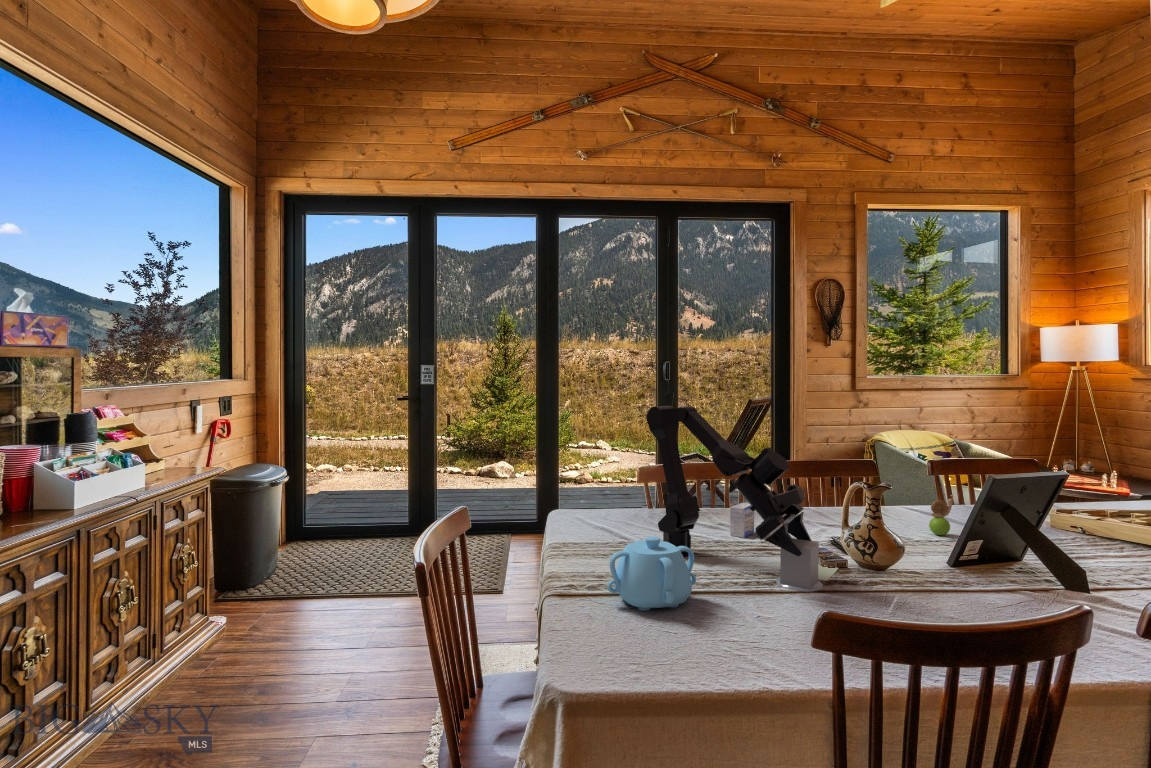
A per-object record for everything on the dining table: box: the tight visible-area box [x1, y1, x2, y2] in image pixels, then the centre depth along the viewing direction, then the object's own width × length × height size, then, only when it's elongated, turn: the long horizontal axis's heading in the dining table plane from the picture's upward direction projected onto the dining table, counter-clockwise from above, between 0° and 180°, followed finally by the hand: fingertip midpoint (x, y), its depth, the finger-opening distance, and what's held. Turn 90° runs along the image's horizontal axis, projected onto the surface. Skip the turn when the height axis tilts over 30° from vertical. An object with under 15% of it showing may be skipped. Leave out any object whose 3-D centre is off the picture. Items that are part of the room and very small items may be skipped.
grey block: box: [779, 537, 820, 590], centre depth 145 cm, size 7×7×9 cm
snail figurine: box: [928, 494, 955, 536], centre depth 188 cm, size 5×6×12 cm
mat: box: [818, 563, 839, 582], centre depth 155 cm, size 11×11×1 cm
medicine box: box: [729, 502, 755, 539], centre depth 188 cm, size 8×4×9 cm, turn 143°
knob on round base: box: [775, 576, 823, 593], centre depth 145 cm, size 10×10×4 cm
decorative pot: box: [606, 535, 697, 612], centre depth 135 cm, size 16×16×14 cm
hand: (806, 550), depth 144 cm, fingers open, 9 cm apart
